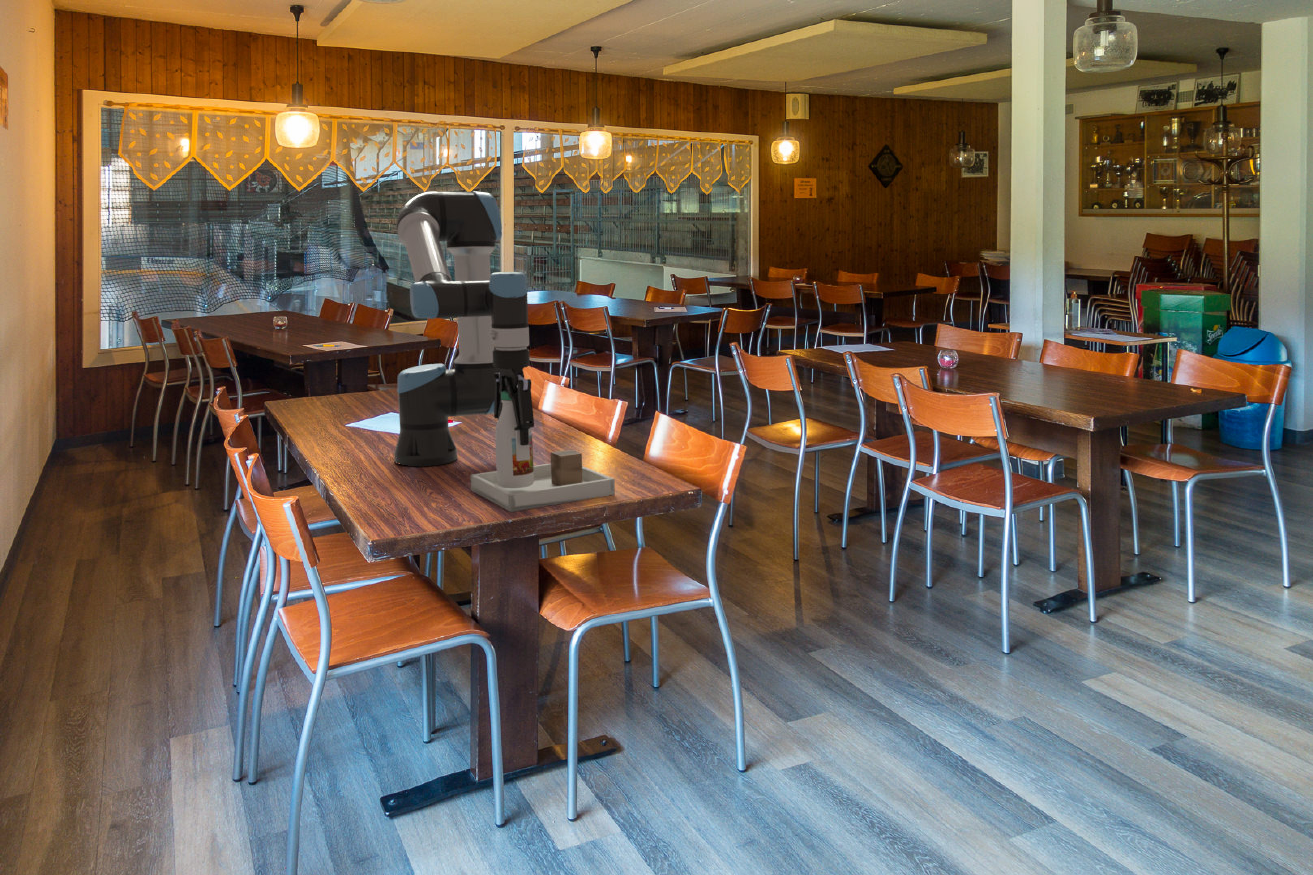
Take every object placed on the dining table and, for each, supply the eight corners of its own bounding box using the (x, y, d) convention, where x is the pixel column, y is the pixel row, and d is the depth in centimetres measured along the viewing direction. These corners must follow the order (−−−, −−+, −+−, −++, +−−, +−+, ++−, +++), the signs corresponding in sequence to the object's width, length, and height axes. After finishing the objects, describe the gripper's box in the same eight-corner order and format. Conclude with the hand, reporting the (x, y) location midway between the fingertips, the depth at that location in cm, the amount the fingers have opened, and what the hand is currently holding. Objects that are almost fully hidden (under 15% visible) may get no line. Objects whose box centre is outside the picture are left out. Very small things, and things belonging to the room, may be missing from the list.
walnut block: (551, 483, 220) (550, 452, 218) (571, 480, 222) (571, 449, 221) (561, 488, 215) (561, 456, 214) (582, 484, 218) (581, 453, 217)
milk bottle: (499, 490, 208) (495, 395, 204) (495, 481, 215) (491, 389, 211) (536, 487, 210) (533, 393, 206) (531, 479, 217) (527, 387, 213)
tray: (471, 490, 218) (470, 474, 218) (569, 475, 231) (569, 460, 230) (510, 512, 201) (510, 495, 200) (614, 494, 213) (614, 478, 213)
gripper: (474, 345, 213) (479, 450, 218) (514, 354, 196) (518, 467, 201) (507, 342, 217) (511, 446, 221) (549, 351, 200) (552, 463, 205)
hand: (515, 456), depth 211 cm, fingers closed on milk bottle, 7 cm apart
